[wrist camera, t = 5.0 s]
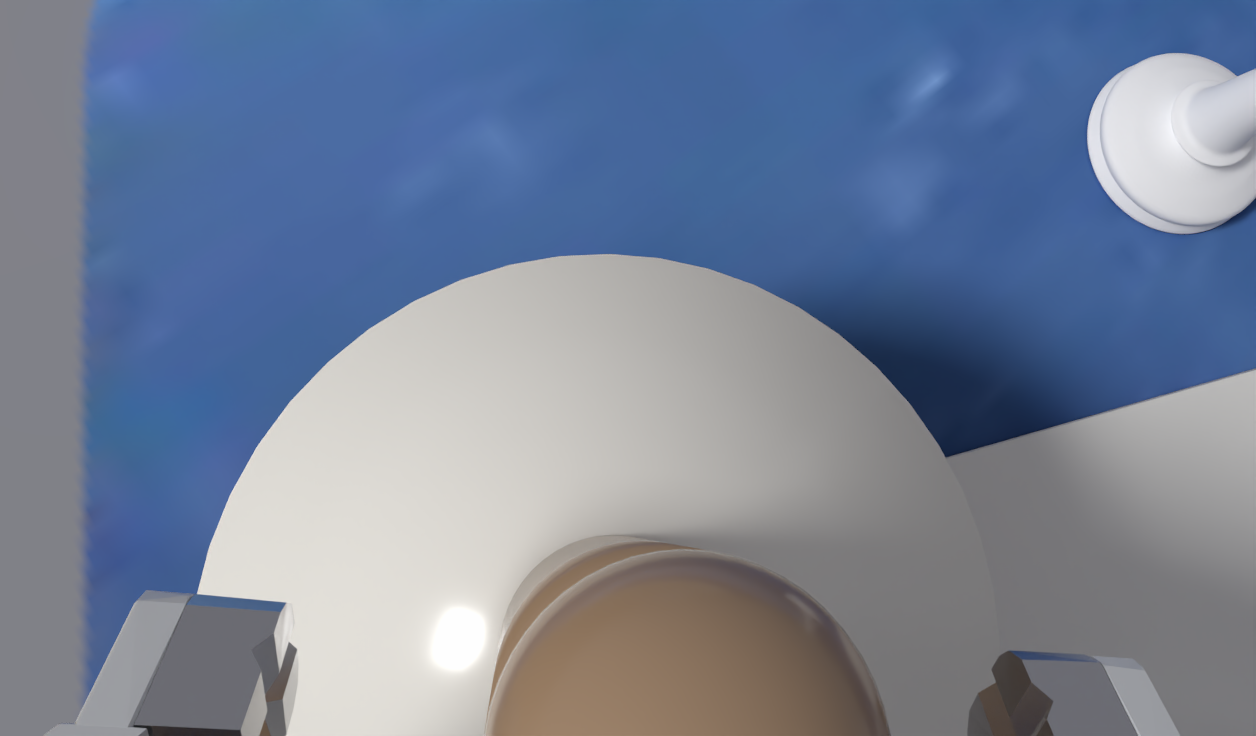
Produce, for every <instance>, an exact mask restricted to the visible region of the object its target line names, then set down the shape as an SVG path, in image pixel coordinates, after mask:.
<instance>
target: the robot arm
mask: <svg viewBox="0 0 1256 736" xmlns="http://www.w3.org/2000/svg"><path fill="white" fill-rule="evenodd" d="M294 624H295V622H294V615H293V608H292V603H286V602H275V601H265V600H254V599H244V598H233V597H222V596H212V595H201V594H189V593H176V592H163V591H151V590H146V591H145V592H144V594H143V595H142V596H141V597H140V598H139V599H138V600H137V601H136V602H135V603H134V605H133V607H132V609H131V611H130V613H129V615H128V617H127V619H126V621H125V623H124V625H123V627H122V629H121V631H120V633H119V635H118V637H117V639H116V641H115V643H114V645H113V647H112V649H111V651H110V653H109V655H108V657H107V659H106V661H105V663H104V665H103V668H102V670H101V672H100V674H99V676H98V678H97V680H96V682H95V684H94V686H93V688H92V690H91V692H90V694H89V696H88V698H87V700H86V702H85V704H84V706H83V708H82V710H81V712H80V714H79V716H78V718H77V720H76V722H75V724H74V723H59V724H58V725H57V726H55V727H54V728H53V729H51V730H50V731H49V732H47V733H46V734H45V735H43V736H285V735H286V734H287V731H288V727H289V724H290V720H291V716H292V713H293V708H294V703H295V697H296V691H297V685H298V667H299V662H298V651H297V648H295V647H294V646H293V645H292V644H291V643H290V642H289V640H290V637H291V633H292V630H293V627H294ZM991 670H992V673H993V676H994V678H995V681H996V683H994V684H992V685H991V686H989V687H987V688H985V689H984V690H982V691H980V692H979V693H978V694H977V696H976V698H975V700H974V702H973V704H972V706H971V708H970V710H969V718H968V729H967V736H1180V734H1179V732H1178V730H1177V728H1176V726H1175V725H1174V723H1173V721H1172V719H1171V717H1170V715H1169V714H1168V712H1167V710H1166V708H1165V706H1164V704H1163V703H1162V701H1161V699H1160V697H1159V695H1158V693H1157V692H1156V690H1155V688H1154V686H1153V684H1152V682H1151V681H1150V679H1149V677H1148V675H1147V673H1146V671H1145V670H1144V668H1143V667H1142V666H1141V665H1140V664H1139V663H1138V662H1137V661H1135V660H1134V659H1130V658H1117V657H1101V656H1087V655H1085V654H1068V653H1049V652H1031V651H1012V650H1008V651H1007V652H1005V653H1003V654H1001V655H1000V656H999V657H998V659H997V660H996V662H995V664H994V665H993V667H992V669H991Z"/></svg>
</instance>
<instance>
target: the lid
mask: <svg viewBox="0 0 1256 736" xmlns="http://www.w3.org/2000/svg"><path fill="white" fill-rule="evenodd" d="M197 594H201V595H212V596H222V597H233V598H244V599H254V600H265V601H275V602H286V603H292V608H293V615H294V622H295V624H294V627H293V630H292V633H291V637H290V640H289V642H290V643H291V644H292V645H293V646H294V647H295V648H297V651H298V662H299V667H298V685H297V691H296V697H295V703H294V708H293V713H292V716H291V720H290V724H289V727H288V731H287V734H286V735H285V736H967V729H968V718H969V710H970V708H971V706H972V704H973V702H974V700H975V698H976V696H977V694H978V693H979V692H980V691H982V690H984V689H985V688H987V687H989V686H991V685H992V684H994V683H996V681H995V678H994V676H993V673H992V670H991V669H992V667H993V665H994V664H995V662H996V660H997V659H998V657H999V656H1000V636H999V628H998V620H997V612H996V604H995V596H994V588H993V584H992V580H991V576H990V572H989V568H988V564H987V560H986V556H985V552H984V548H983V544H982V540H981V537H980V534H979V532H978V529H977V526H976V524H975V521H974V518H973V516H972V513H971V511H970V508H969V505H968V503H967V500H966V498H965V495H964V492H963V490H962V488H961V486H960V484H959V482H958V480H957V479H956V477H955V475H954V473H953V471H952V469H951V467H950V465H949V463H948V462H947V460H946V458H945V456H944V454H943V452H942V450H941V448H940V446H939V445H938V443H937V442H936V440H935V439H934V438H933V436H932V435H931V433H930V432H929V430H928V429H927V428H926V426H925V425H924V423H923V422H922V420H921V419H920V418H919V416H918V415H917V413H916V412H915V410H914V409H913V407H912V406H911V405H910V403H909V402H908V401H907V400H906V399H905V398H904V397H903V396H902V394H901V393H900V392H899V391H898V390H897V389H896V388H895V387H894V386H893V384H892V383H891V382H890V381H889V380H888V379H887V378H886V377H885V376H884V374H883V373H882V372H881V371H880V370H879V369H878V368H877V367H876V366H875V365H874V364H873V363H872V362H870V361H869V360H868V359H867V358H866V357H865V356H864V355H862V354H861V353H860V352H859V351H858V350H857V349H855V348H854V347H853V346H852V345H851V344H850V343H849V342H847V341H846V340H845V339H844V338H843V337H842V336H840V335H839V334H838V333H836V332H835V331H833V330H832V329H830V328H829V327H827V326H826V325H824V324H823V323H821V322H820V321H818V320H817V319H815V318H814V317H812V316H811V315H809V314H808V313H806V312H805V311H803V310H802V309H801V308H799V307H797V306H795V305H793V304H791V303H789V302H787V301H785V300H783V299H781V298H779V297H777V296H775V295H773V294H771V293H769V292H767V291H765V290H763V289H761V288H759V287H757V286H755V285H753V284H750V283H747V282H744V281H742V280H739V279H736V278H733V277H730V276H727V275H724V274H722V273H719V272H716V271H713V270H710V269H707V268H702V267H698V266H693V265H688V264H684V263H679V262H675V261H670V260H665V259H661V258H650V257H638V256H627V255H615V254H601V255H578V256H559V257H553V258H547V259H541V260H535V261H530V262H524V263H518V264H512V265H508V266H505V267H502V268H498V269H495V270H492V271H489V272H485V273H482V274H479V275H476V276H472V277H469V278H466V279H463V280H460V281H458V282H455V283H453V284H451V285H449V286H447V287H444V288H442V289H440V290H438V291H436V292H433V293H431V294H429V295H427V296H425V297H422V298H420V299H418V300H416V301H414V302H412V303H410V304H409V305H407V306H406V307H404V308H402V309H401V310H399V311H398V312H396V313H394V314H393V315H391V316H389V317H388V318H386V319H385V320H383V321H381V322H380V323H378V324H376V325H375V326H373V327H372V328H370V329H369V330H367V331H366V332H365V333H364V334H362V335H361V336H360V337H359V338H357V339H356V340H355V341H354V342H352V343H351V344H350V345H349V346H348V347H346V348H345V349H344V350H343V351H341V352H340V353H339V354H338V355H336V356H335V357H334V358H333V359H331V360H330V361H329V362H328V363H327V364H326V365H325V366H324V367H323V368H322V369H321V370H320V371H319V372H318V373H317V374H316V375H315V376H314V377H313V378H312V379H311V380H310V382H309V383H308V384H307V385H306V386H305V387H304V388H303V389H302V390H301V391H300V392H299V393H298V394H297V395H296V396H295V397H294V398H293V399H292V400H291V401H290V403H289V404H288V405H287V407H286V408H285V409H284V411H283V412H282V413H281V415H280V416H279V417H278V419H277V420H276V422H275V423H274V424H273V426H272V427H271V428H270V430H269V431H268V432H267V434H266V435H265V436H264V438H263V439H262V440H261V442H260V443H259V445H258V446H257V448H256V449H255V451H254V453H253V455H252V457H251V458H250V460H249V462H248V464H247V466H246V467H245V469H244V471H243V473H242V475H241V476H240V478H239V480H238V482H237V483H236V485H235V487H234V489H233V491H232V492H231V494H230V497H229V499H228V502H227V504H226V507H225V509H224V512H223V514H222V517H221V519H220V522H219V524H218V526H217V529H216V531H215V534H214V536H213V539H212V541H211V544H210V546H209V550H208V554H207V558H206V562H205V566H204V569H203V573H202V577H201V581H200V585H199V589H198V593H197Z"/></svg>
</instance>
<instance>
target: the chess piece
mask: <svg viewBox="0 0 1256 736" xmlns="http://www.w3.org/2000/svg"><path fill="white" fill-rule="evenodd" d="M1087 142H1088V151H1089V156H1090V160H1091V163H1092V166H1093V169H1094V171H1095V174H1096V176H1097V178H1098V180H1099V182H1100V184H1101V185H1102V187H1103V189H1104V190H1105V191H1106V193H1107V194H1108V195H1109V197H1110V198H1111V199H1112V200H1113V201H1114V203H1115V204H1116V205H1117V206H1118V207H1119V208H1121V209H1122V210H1123V211H1124V212H1125V213H1127V214H1128V215H1129V216H1131V217H1132V218H1134V219H1135V220H1137V221H1138V222H1140V223H1142V224H1144V225H1146V226H1149V227H1151V228H1154V229H1156V230H1160V231H1163V232H1168V233H1175V234H1193V233H1199V232H1203V231H1207V230H1210V229H1213V228H1215V227H1217V226H1219V225H1221V224H1223V223H1224V222H1226V221H1227V220H1229V219H1230V218H1231V217H1233V216H1235V215H1236V214H1238V213H1240V212H1241V211H1242V210H1244V209H1245V208H1246V207H1247V206H1248V205H1249V204H1250V203H1251V202H1252V201H1253V200H1254V199H1255V198H1256V69H1254V70H1252V71H1249V72H1247V73H1244V74H1242V75H1240V76H1236V75H1235V74H1233V73H1232V72H1231V71H1229V70H1228V69H1226V68H1225V67H1223V66H1222V65H1220V64H1218V63H1216V62H1214V61H1212V60H1209V59H1206V58H1203V57H1200V56H1196V55H1191V54H1183V53H1169V54H1162V55H1157V56H1154V57H1151V58H1148V59H1145V60H1143V61H1141V62H1139V63H1137V64H1136V65H1133V66H1131V67H1129V68H1127V69H1125V70H1123V71H1121V72H1120V73H1118V74H1117V75H1116V76H1114V77H1113V78H1112V79H1111V80H1110V81H1109V82H1108V83H1107V84H1106V85H1105V86H1104V88H1103V89H1102V90H1101V92H1100V93H1099V95H1098V96H1097V98H1096V100H1095V102H1094V105H1093V107H1092V110H1091V113H1090V117H1089V122H1088V131H1087Z"/></svg>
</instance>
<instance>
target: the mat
mask: <svg viewBox="0 0 1256 736" xmlns="http://www.w3.org/2000/svg"><path fill="white" fill-rule="evenodd" d="M946 460H947V462H948V463H949V465H950V467H951V469H952V471H953V473H954V475H955V477H956V479H957V480H958V482H959V484H960V486H961V488H962V490H963V492H964V495H965V498H966V500H967V503H968V505H969V508H970V511H971V513H972V516H973V518H974V521H975V524H976V526H977V529H978V532H979V534H980V537H981V540H982V544H983V548H984V552H985V556H986V560H987V564H988V568H989V572H990V576H991V580H992V584H993V588H994V596H995V604H996V612H997V620H998V628H999V636H1000V655H1001V654H1003V653H1005V652H1007V651H1008V650H1012V651H1031V652H1049V653H1068V654H1085V655H1087V656H1101V657H1117V658H1130V659H1134V660H1135V661H1137V662H1138V663H1139V664H1140V665H1141V666H1142V667H1143V668H1144V670H1145V671H1146V673H1147V675H1148V677H1149V679H1150V681H1151V682H1152V684H1153V686H1154V688H1155V690H1156V692H1157V693H1158V695H1159V697H1160V699H1161V701H1162V703H1163V704H1164V706H1165V708H1166V710H1167V712H1168V714H1169V715H1170V717H1171V719H1172V721H1173V723H1174V725H1175V726H1176V728H1177V730H1178V732H1179V734H1180V736H1256V368H1255V369H1252V370H1248V371H1245V372H1241V373H1238V374H1234V375H1231V376H1227V377H1224V378H1221V379H1217V380H1214V381H1210V382H1207V383H1203V384H1200V385H1196V386H1193V387H1189V388H1186V389H1182V390H1179V391H1175V392H1172V393H1168V394H1165V395H1161V396H1158V397H1154V398H1151V399H1147V400H1144V401H1141V402H1137V403H1134V404H1130V405H1127V406H1123V407H1120V408H1116V409H1113V410H1109V411H1106V412H1102V413H1099V414H1095V415H1092V416H1088V417H1085V418H1081V419H1078V420H1074V421H1071V422H1067V423H1064V424H1061V425H1057V426H1054V427H1050V428H1047V429H1043V430H1040V431H1036V432H1033V433H1029V434H1026V435H1022V436H1019V437H1015V438H1012V439H1008V440H1005V441H1001V442H998V443H994V444H991V445H988V446H984V447H981V448H977V449H974V450H970V451H967V452H963V453H960V454H956V455H953V456H949V457H946Z"/></svg>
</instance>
